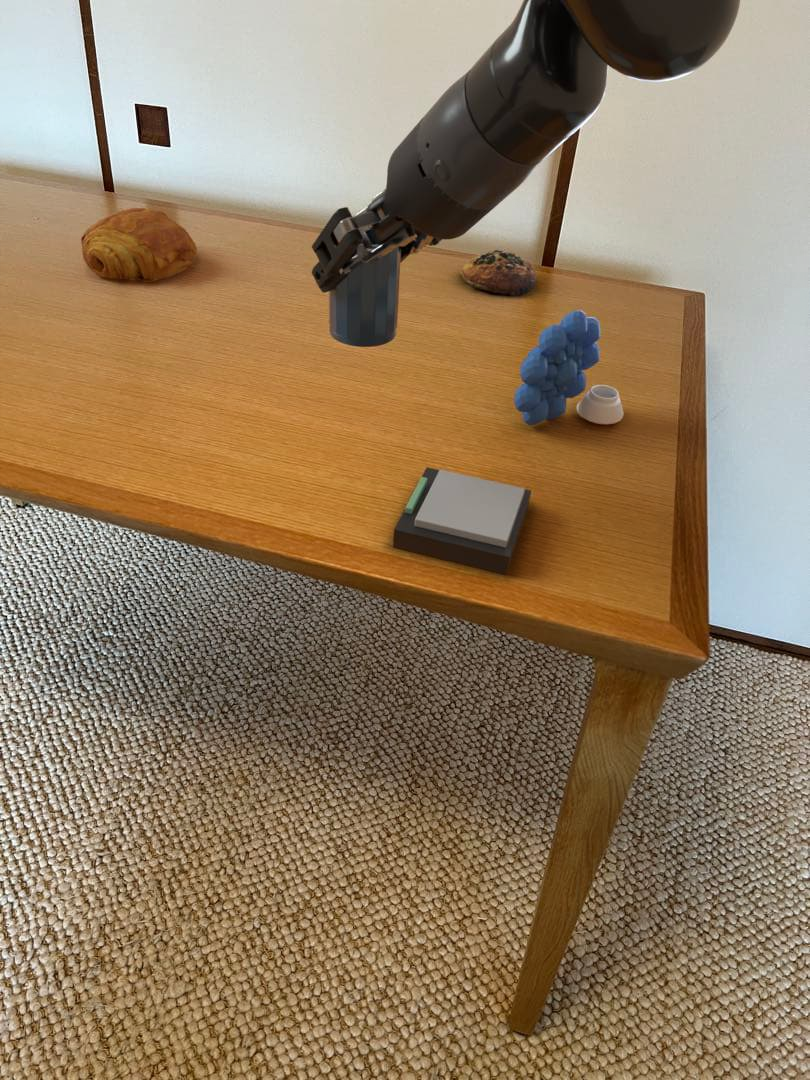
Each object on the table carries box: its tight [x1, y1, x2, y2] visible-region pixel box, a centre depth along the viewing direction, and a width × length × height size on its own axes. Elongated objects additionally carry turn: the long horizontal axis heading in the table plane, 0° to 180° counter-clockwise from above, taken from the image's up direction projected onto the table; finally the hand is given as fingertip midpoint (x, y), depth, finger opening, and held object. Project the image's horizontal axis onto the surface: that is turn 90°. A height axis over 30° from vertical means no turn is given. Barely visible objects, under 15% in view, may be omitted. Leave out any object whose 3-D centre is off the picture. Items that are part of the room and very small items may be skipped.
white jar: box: [576, 384, 625, 425], centre depth 88 cm, size 5×3×5 cm
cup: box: [328, 230, 401, 348], centre depth 68 cm, size 6×6×8 cm
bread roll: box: [459, 249, 537, 297], centre depth 116 cm, size 11×11×5 cm
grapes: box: [513, 309, 601, 426], centre depth 85 cm, size 12×7×12 cm, turn 130°
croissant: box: [80, 207, 198, 283], centre depth 112 cm, size 14×16×8 cm
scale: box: [392, 467, 532, 576], centre depth 72 cm, size 10×10×3 cm
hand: (350, 272), depth 69 cm, fingers closed on cup, 6 cm apart
